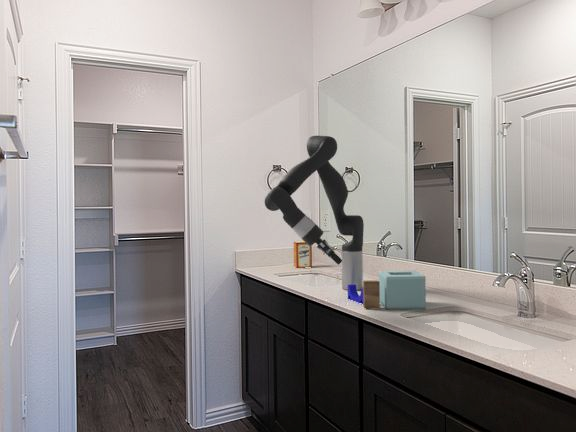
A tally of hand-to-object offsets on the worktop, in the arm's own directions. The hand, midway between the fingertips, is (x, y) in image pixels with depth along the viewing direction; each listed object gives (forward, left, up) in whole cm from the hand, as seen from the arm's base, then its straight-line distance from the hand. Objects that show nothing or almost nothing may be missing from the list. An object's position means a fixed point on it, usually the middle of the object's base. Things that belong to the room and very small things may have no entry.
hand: (339, 261), depth 165 cm
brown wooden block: (0, +12, -17) cm, 21 cm away
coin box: (-4, +24, -17) cm, 30 cm away
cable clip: (-12, +9, -18) cm, 23 cm away
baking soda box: (-108, -11, -18) cm, 110 cm away
